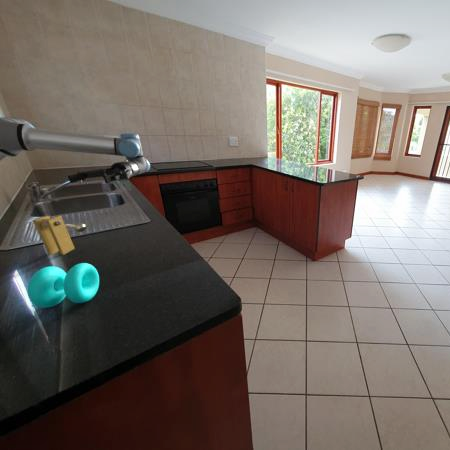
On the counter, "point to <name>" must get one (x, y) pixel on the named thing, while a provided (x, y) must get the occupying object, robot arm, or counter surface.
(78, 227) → the lever
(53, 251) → the bracket
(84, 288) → the donuts
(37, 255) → the counter surface
